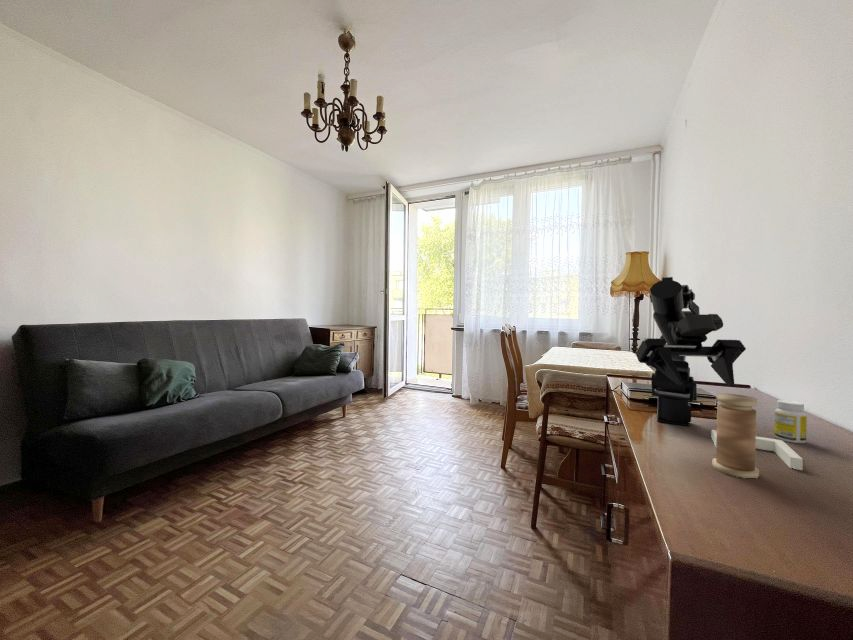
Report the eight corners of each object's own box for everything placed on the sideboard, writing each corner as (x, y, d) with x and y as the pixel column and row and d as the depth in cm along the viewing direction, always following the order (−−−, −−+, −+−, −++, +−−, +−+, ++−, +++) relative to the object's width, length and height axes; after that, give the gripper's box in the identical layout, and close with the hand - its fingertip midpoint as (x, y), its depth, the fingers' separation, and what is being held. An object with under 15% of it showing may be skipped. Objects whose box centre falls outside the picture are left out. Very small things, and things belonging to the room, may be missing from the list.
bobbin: (715, 472, 58) (716, 397, 58) (709, 460, 63) (711, 391, 63) (763, 482, 54) (765, 403, 54) (753, 468, 59) (755, 395, 59)
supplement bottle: (796, 437, 75) (797, 400, 75) (812, 445, 71) (813, 405, 71) (769, 434, 77) (770, 398, 77) (783, 442, 72) (784, 403, 72)
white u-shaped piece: (720, 455, 65) (720, 445, 65) (711, 438, 74) (711, 429, 74) (802, 470, 59) (802, 459, 59) (781, 450, 68) (781, 440, 68)
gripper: (643, 301, 73) (671, 358, 62) (739, 301, 70) (787, 361, 59) (626, 335, 81) (649, 391, 70) (712, 336, 78) (749, 394, 67)
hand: (706, 384), depth 66 cm, fingers open, 9 cm apart
